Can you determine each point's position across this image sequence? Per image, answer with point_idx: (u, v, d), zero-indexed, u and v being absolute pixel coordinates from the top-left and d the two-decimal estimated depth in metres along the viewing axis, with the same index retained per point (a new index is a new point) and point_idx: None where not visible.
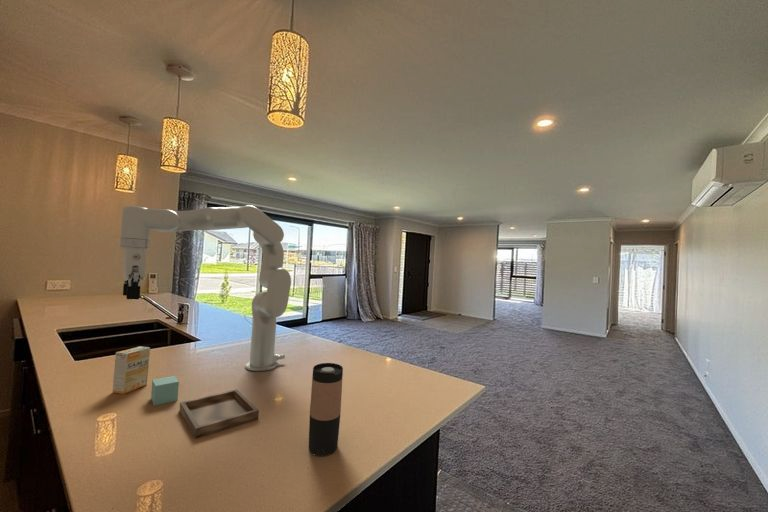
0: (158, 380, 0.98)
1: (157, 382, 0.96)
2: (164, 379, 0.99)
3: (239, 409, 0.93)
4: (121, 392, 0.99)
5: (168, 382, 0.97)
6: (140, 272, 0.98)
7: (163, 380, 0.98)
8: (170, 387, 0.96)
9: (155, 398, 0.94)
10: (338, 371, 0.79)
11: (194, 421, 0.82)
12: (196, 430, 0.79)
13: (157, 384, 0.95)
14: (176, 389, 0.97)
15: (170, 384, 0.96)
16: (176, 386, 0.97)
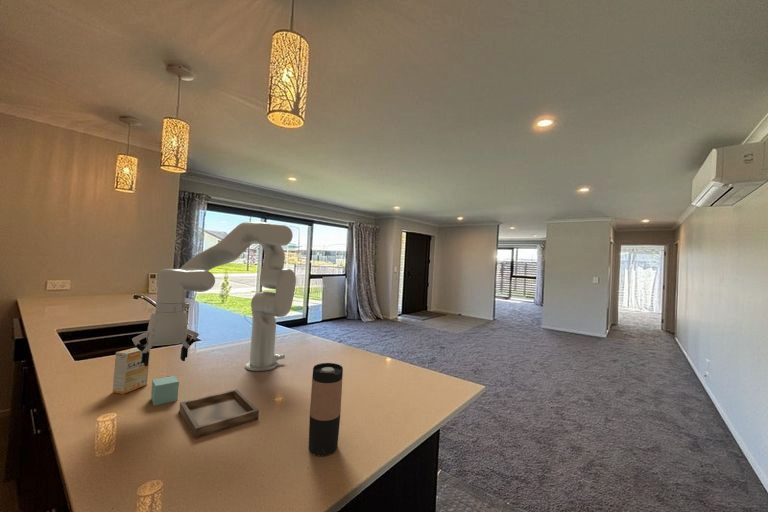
0: (158, 380, 0.98)
1: (157, 382, 0.96)
2: (164, 379, 0.99)
3: (239, 409, 0.93)
4: (121, 392, 0.99)
5: (168, 382, 0.97)
6: None
7: (163, 380, 0.98)
8: (170, 387, 0.96)
9: (155, 398, 0.94)
10: (338, 371, 0.78)
11: (194, 421, 0.82)
12: (196, 430, 0.79)
13: (157, 384, 0.95)
14: (176, 389, 0.97)
15: (170, 384, 0.96)
16: (176, 386, 0.97)
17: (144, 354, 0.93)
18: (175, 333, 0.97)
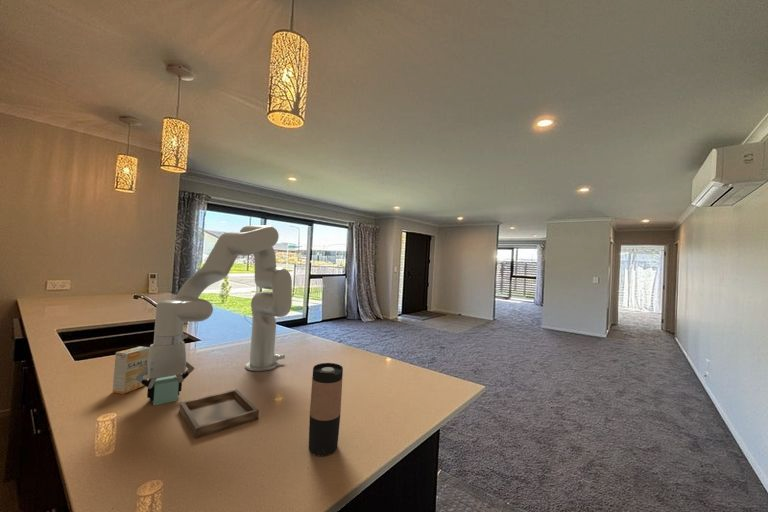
0: (158, 380, 0.98)
1: (157, 382, 0.96)
2: (164, 379, 0.99)
3: (239, 409, 0.93)
4: (121, 392, 0.99)
5: (168, 382, 0.97)
6: None
7: (163, 380, 0.98)
8: (170, 387, 0.96)
9: (155, 398, 0.94)
10: (338, 371, 0.78)
11: (194, 421, 0.82)
12: (196, 430, 0.79)
13: (157, 384, 0.95)
14: (176, 389, 0.97)
15: (170, 384, 0.96)
16: (176, 386, 0.97)
17: (149, 389, 0.94)
18: (174, 365, 0.97)
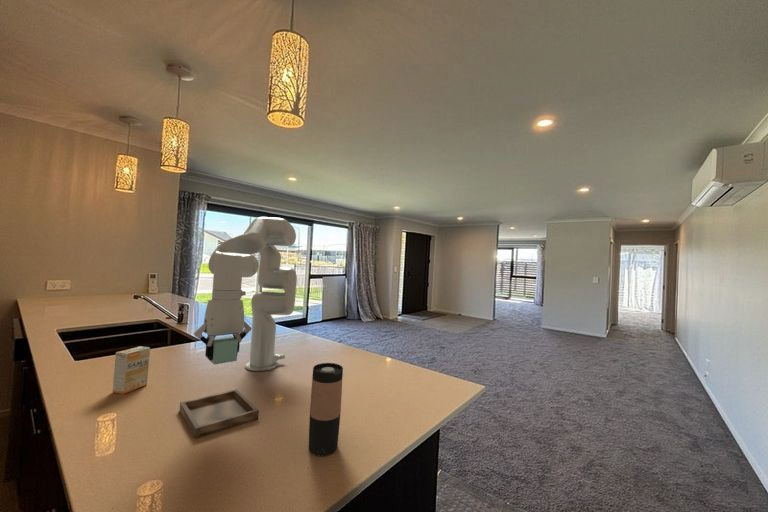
0: (216, 339, 0.90)
1: (216, 340, 0.89)
2: (222, 338, 0.91)
3: (239, 409, 0.93)
4: (121, 392, 0.99)
5: (227, 340, 0.89)
6: None
7: (221, 339, 0.91)
8: (230, 345, 0.89)
9: (215, 356, 0.87)
10: (338, 371, 0.78)
11: (194, 421, 0.82)
12: (196, 430, 0.79)
13: (217, 342, 0.88)
14: (235, 348, 0.90)
15: (230, 342, 0.89)
16: (235, 345, 0.90)
17: (209, 347, 0.87)
18: (233, 322, 0.90)
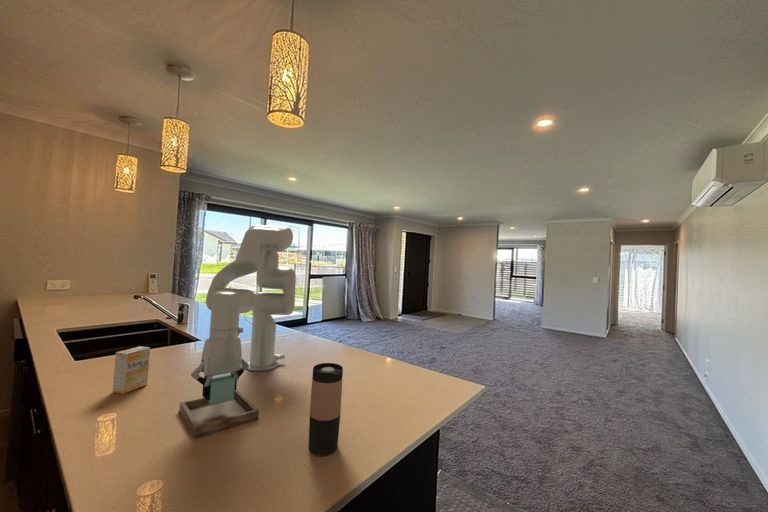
0: (213, 377, 0.90)
1: (213, 379, 0.89)
2: (219, 376, 0.91)
3: (239, 409, 0.93)
4: (121, 392, 0.99)
5: (224, 380, 0.89)
6: None
7: (218, 377, 0.90)
8: (227, 385, 0.89)
9: (212, 397, 0.86)
10: (338, 371, 0.79)
11: (194, 421, 0.82)
12: (196, 430, 0.79)
13: (214, 382, 0.87)
14: (232, 387, 0.90)
15: (227, 382, 0.89)
16: (232, 384, 0.90)
17: (205, 388, 0.87)
18: (230, 361, 0.90)
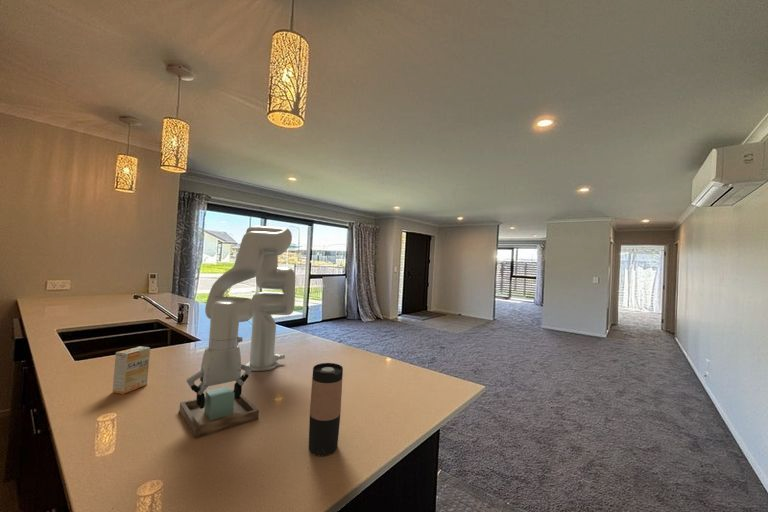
0: (212, 392, 0.90)
1: (212, 394, 0.89)
2: (218, 390, 0.91)
3: (239, 409, 0.93)
4: (121, 392, 0.99)
5: (224, 394, 0.89)
6: None
7: (217, 392, 0.90)
8: (226, 399, 0.89)
9: (211, 412, 0.86)
10: (338, 371, 0.78)
11: (194, 421, 0.82)
12: (196, 430, 0.79)
13: (213, 396, 0.87)
14: (232, 401, 0.90)
15: (226, 396, 0.89)
16: (232, 398, 0.90)
17: (199, 396, 0.86)
18: (230, 371, 0.90)
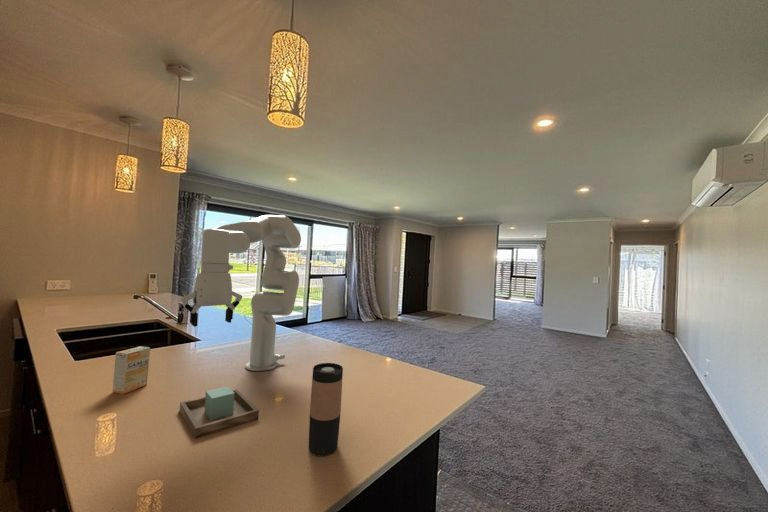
0: (212, 392, 0.90)
1: (212, 394, 0.89)
2: (218, 390, 0.91)
3: (239, 409, 0.93)
4: (121, 392, 0.99)
5: (224, 394, 0.89)
6: None
7: (217, 392, 0.90)
8: (226, 399, 0.89)
9: (211, 412, 0.86)
10: (338, 371, 0.78)
11: (194, 421, 0.82)
12: (196, 430, 0.79)
13: (213, 396, 0.87)
14: (232, 401, 0.90)
15: (226, 396, 0.89)
16: (232, 398, 0.90)
17: (193, 314, 0.92)
18: (221, 294, 0.96)
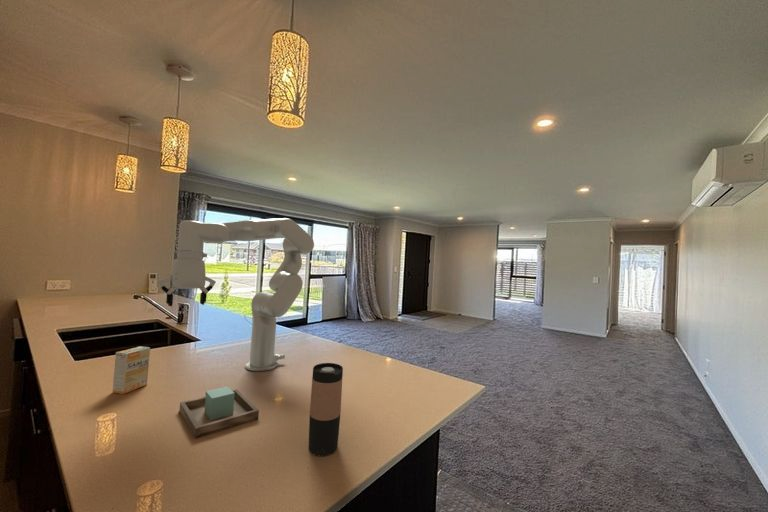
0: (212, 392, 0.90)
1: (212, 394, 0.89)
2: (218, 390, 0.91)
3: (239, 409, 0.93)
4: (121, 392, 0.99)
5: (224, 394, 0.89)
6: None
7: (217, 392, 0.90)
8: (226, 399, 0.89)
9: (211, 412, 0.86)
10: (338, 371, 0.78)
11: (194, 421, 0.82)
12: (196, 430, 0.79)
13: (213, 396, 0.87)
14: (232, 401, 0.90)
15: (226, 396, 0.89)
16: (232, 398, 0.90)
17: (168, 295, 1.04)
18: (195, 278, 1.08)
